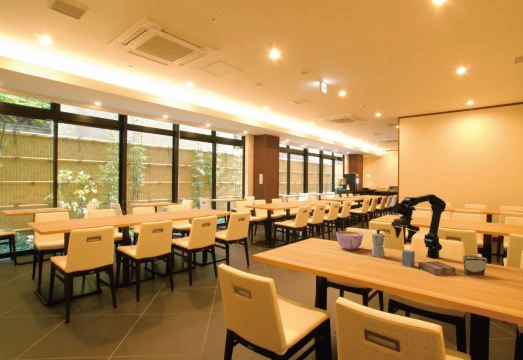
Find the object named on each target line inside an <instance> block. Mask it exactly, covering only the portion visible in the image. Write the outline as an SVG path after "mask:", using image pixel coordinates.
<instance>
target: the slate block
mask: <svg viewBox="0 0 523 360" xmlns="http://www.w3.org/2000/svg"><path fill="white" fill-rule="evenodd" d="M401 252H402V257H401V258H402V259H401V260H402V261H401V265H402V266H403V267H408V268H412V267H415V264H416V263H415V262H416V261H415V258H416V257H415V256H416V254H415V253H416V252H415V251H414V250H409V249H404V250H402V251H401Z"/></svg>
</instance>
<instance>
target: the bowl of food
mask: <svg viewBox="0 0 523 360" xmlns="http://www.w3.org/2000/svg"><path fill="white" fill-rule="evenodd" d="M335 234H336V238H337V243H338V245H339V246H340V247H341V248H343V249H344V250H348V251H355V250H357V249H358V248H360V246H361V245H362V242H363V238H364V233H362V232H359V231H350V230H349V231H348V230H346V231H345V230H342V231H341V230H339V231H337V232H335Z"/></svg>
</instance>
